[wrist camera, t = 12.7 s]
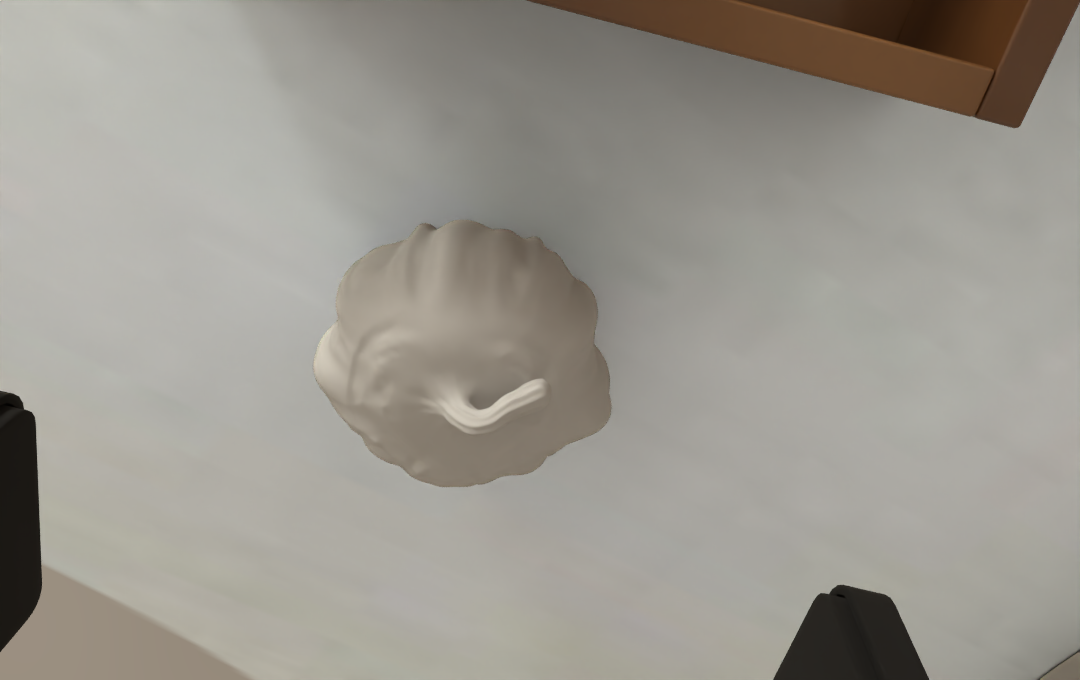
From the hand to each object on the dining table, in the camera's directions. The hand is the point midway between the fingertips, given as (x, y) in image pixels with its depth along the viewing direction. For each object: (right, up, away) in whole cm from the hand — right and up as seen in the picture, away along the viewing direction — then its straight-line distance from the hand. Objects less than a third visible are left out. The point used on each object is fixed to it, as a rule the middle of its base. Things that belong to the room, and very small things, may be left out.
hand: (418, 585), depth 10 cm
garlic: (0, +4, +9) cm, 10 cm away
